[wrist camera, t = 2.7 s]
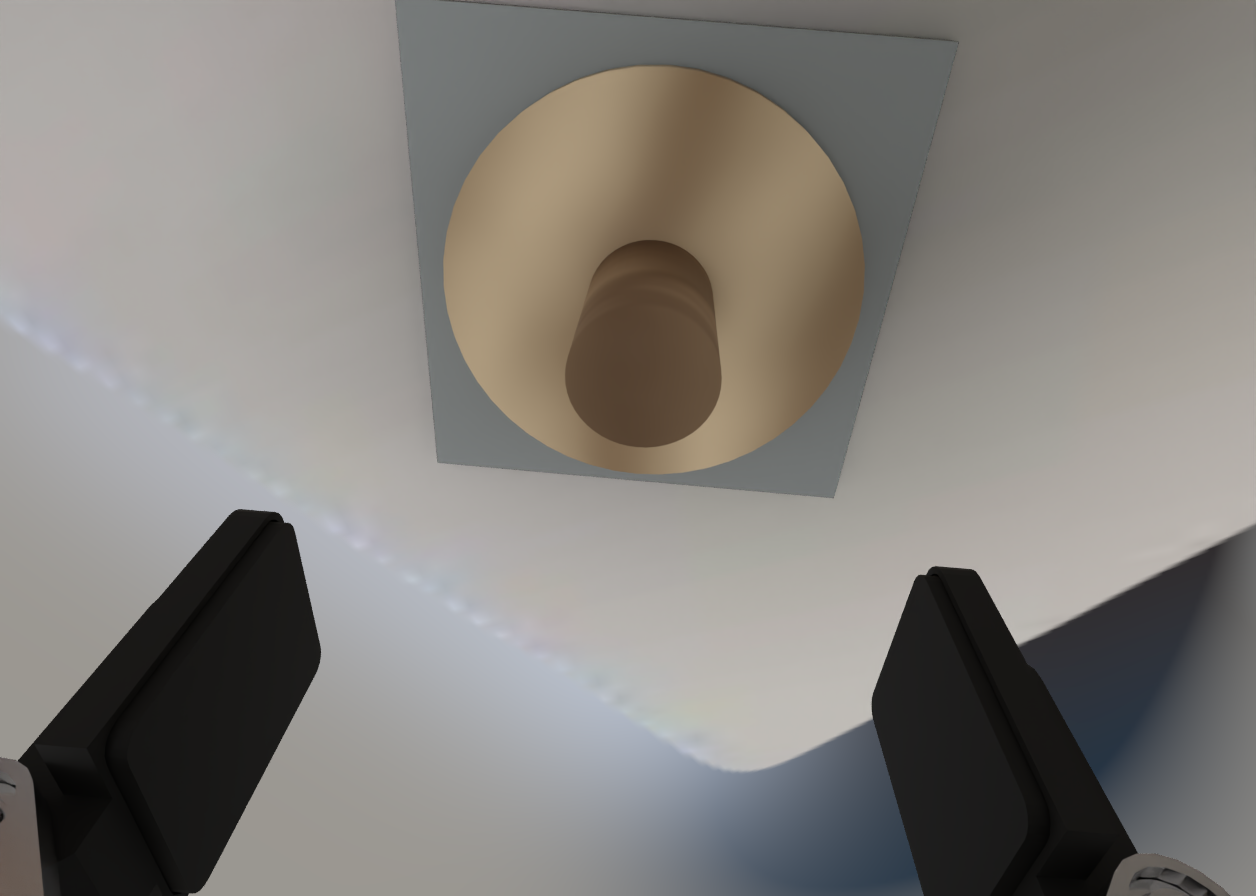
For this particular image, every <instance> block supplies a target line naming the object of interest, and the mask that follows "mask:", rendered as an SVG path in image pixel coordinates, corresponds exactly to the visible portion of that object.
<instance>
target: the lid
mask: <svg viewBox="0 0 1256 896" xmlns="http://www.w3.org/2000/svg"><path fill="white" fill-rule="evenodd" d="M443 272H444V292H445V298H446V305H447V312H448V315H449V319H450V322H451V326H452V329H453V333H454V336H455V339H456V341H457V343H458V346H459V348H460V350H461V353H462V355H463V358H464V360H465V361H466V363H467V365H468V367H469V368H470V370H471V372H472V373H473V375H474V377H475V379H476V380H477V382H478V383H479V384H480V386H481V387H482V388H483V390H484V391H485V392H486V394H487V395H488V396H489V398H490V399H491V400H492V401H493V402H494V403H495V404H496V405H497V406H498V407H499V409H500V410H501V411H502V412H503V413H504V414H505V415H506V416H507V417H508V418H509V419H511V420H512V421H513V422H514V423H515V424H517V425H518V426H519V427H520V428H521V429H523V430H524V431H525V432H526V433H528V434H529V435H531V436H532V437H534V438H535V439H537V440H538V441H540V442H542V443H543V444H545V445H546V446H548V447H550V448H552V449H554V450H556V451H558V452H560V453H562V454H564V455H566V456H568V457H571V458H573V459H576V460H579V461H581V462H584V463H587V464H590V465H593V466H597V467H601V468H605V469H609V470H613V471H620V472H627V473H635V474H672V473H684V472H689V471H695V470H700V469H705V468H709V467H712V466H716V465H719V464H722V463H725V462H729V461H731V460H734V459H736V458H738V457H741V456H743V455H745V454H748V453H750V452H752V451H754V450H756V449H757V448H759V447H761V446H762V445H764V444H766V443H768V442H769V441H771V440H773V439H774V438H776V437H777V436H778V435H780V434H781V433H782V432H784V431H785V430H786V429H788V428H789V427H790V426H792V425H793V424H794V423H795V422H796V421H797V420H798V419H799V418H800V417H801V416H803V415H804V414H805V413H806V412H807V411H808V410H809V409H810V408H811V407H812V406H813V404H814V403H815V402H816V401H817V400H818V398H819V397H820V396H821V395H822V394H823V392H824V391H825V390H826V389H827V387H828V386H829V384H830V382H831V381H832V379H833V378H834V376H835V375H836V373H837V371H838V370H839V368H840V367H841V364H842V362H843V360H844V358H845V356H846V354H847V352H848V350H849V347H850V345H851V343H852V340H853V337H854V333H855V330H856V327H857V324H858V321H859V317H860V311H861V306H862V300H863V294H864V273H865V262H864V253H863V244H862V236H861V232H860V228H859V224H858V220H857V216H856V212H855V209H854V206H853V204H852V202H851V199H850V197H849V194H848V192H847V190H846V187H845V185H844V182H843V181H842V179H841V177H840V176H839V174H838V172H837V171H836V169H835V167H834V166H833V164H832V162H831V161H830V159H829V157H828V156H827V155H826V154H825V152H824V151H823V150H822V149H821V148H820V146H819V145H818V144H817V143H816V141H815V140H814V139H813V138H812V137H811V135H810V134H809V133H808V132H807V131H806V130H805V129H804V128H803V127H802V126H801V125H800V124H799V123H798V122H797V121H796V120H795V119H794V118H792V117H791V116H790V115H789V114H788V113H787V112H786V111H785V110H784V109H783V108H781V107H780V106H778V105H777V104H775V103H774V102H772V101H771V100H769V99H768V98H766V97H765V96H763V95H762V94H760V93H759V92H757V91H756V90H753V89H751V88H749V87H747V86H745V85H743V84H741V83H739V82H737V81H734V80H732V79H730V78H727V77H724V76H721V75H718V74H714V73H711V72H708V71H704V70H701V69H695V68H689V67H682V66H675V65H634V66H627V67H620V68H614V69H608V70H604V71H601V72H598V73H595V74H591V75H588V76H585V77H581V78H579V79H577V80H574V81H572V82H570V83H568V84H566V85H564V86H562V87H560V88H558V89H555V90H553V91H552V92H550V93H549V94H547V95H546V96H544V97H543V98H541V99H540V100H538V101H537V102H535V103H534V104H532V105H531V106H529V107H528V108H526V109H525V110H524V111H522V112H521V113H520V114H519V115H518V116H517V117H516V118H514V119H513V120H512V121H511V122H510V123H509V124H508V125H507V126H506V127H504V128H503V129H502V130H501V131H500V132H499V133H498V134H497V135H496V137H495V138H494V139H493V140H492V141H491V143H490V144H489V145H488V146H487V147H486V149H485V150H484V151H483V152H482V154H481V155H480V156H479V158H478V159H477V161H476V163H475V164H474V166H473V168H472V169H471V171H470V173H469V174H468V176H467V178H466V179H465V181H464V183H463V186H462V188H461V190H460V193H459V195H458V197H457V200H456V202H455V205H454V207H453V211H452V215H451V218H450V222H449V226H448V230H447V234H446V242H445V250H444V258H443Z"/></svg>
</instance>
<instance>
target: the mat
mask: <svg viewBox="0 0 1256 896" xmlns="http://www.w3.org/2000/svg"><path fill="white" fill-rule="evenodd" d="M395 6H396V17H397V28H398V39H399V50H400V61H401V71H402V82H403V93H404V104H405V115H406V126H407V137H408V147H409V158H410V169H411V180H412V191H413V202H414V213H415V223H416V234H417V245H418V256H419V267H420V278H421V289H422V300H423V310H424V321H425V332H426V343H427V354H428V365H429V376H430V386H431V397H432V408H433V419H434V430H435V441H436V452H437V462H438V463H446V464H457V465H468V466H480V467H491V468H502V469H513V470H524V471H535V472H547V473H558V474H569V475H580V476H591V477H603V478H614V479H625V480H636V481H647V482H659V483H670V484H681V485H692V486H703V487H714V488H726V489H737V490H748V491H759V492H770V493H782V494H793V495H804V496H815V497H826V498H834V495H835V492H836V488H837V484H838V481H839V477H840V474H841V470H842V466H843V463H844V459H845V455H846V452H847V448H848V444H849V441H850V437H851V433H852V430H853V426H854V423H855V419H856V415H857V412H858V408H859V404H860V401H861V397H862V393H863V390H864V386H865V382H866V379H867V375H868V372H869V368H870V364H871V361H872V357H873V353H874V350H875V346H876V342H877V339H878V335H879V331H880V328H881V324H882V320H883V317H884V313H885V310H886V306H887V302H888V299H889V295H890V291H891V288H892V284H893V280H894V277H895V273H896V269H897V266H898V262H899V259H900V255H901V251H902V248H903V244H904V240H905V237H906V233H907V229H908V226H909V222H910V218H911V215H912V211H913V208H914V204H915V200H916V197H917V193H918V189H919V186H920V182H921V178H922V175H923V171H924V167H925V164H926V160H927V156H928V153H929V149H930V146H931V142H932V138H933V135H934V131H935V127H936V124H937V120H938V116H939V113H940V109H941V105H942V102H943V98H944V95H945V91H946V87H947V84H948V80H949V76H950V73H951V69H952V65H953V62H954V58H955V54H956V51H957V47H958V44H959V42H957V41H952V40H940V39H928V38H915V37H903V36H890V35H878V34H865V33H852V32H840V31H827V30H815V29H802V28H789V27H777V26H764V25H752V24H739V23H727V22H714V21H701V20H689V19H676V18H664V17H651V16H639V15H626V14H613V13H601V12H588V11H576V10H563V9H551V8H538V7H525V6H513V5H500V4H488V3H475V2H463V1H450V0H395ZM634 65H675V66H682V67H689V68H695V69H701V70H704V71H708V72H711V73H714V74H718V75H721V76H724V77H727V78H730V79H732V80H734V81H737V82H739V83H741V84H743V85H745V86H747V87H749V88H751V89H753V90H756V91H757V92H759V93H760V94H762V95H763V96H765V97H766V98H768V99H769V100H771V101H772V102H774V103H775V104H777V105H778V106H780V107H781V108H783V109H784V110H785V111H786V112H787V113H788V114H789V115H790V116H791V117H792V118H794V119H795V120H796V121H797V122H798V123H799V124H800V125H801V126H802V127H803V128H804V129H805V130H806V131H807V132H808V133H809V134H810V135H811V137H812V138H813V139H814V140H815V141H816V143H817V144H818V145H819V146H820V148H821V149H822V150H823V151H824V152H825V154H826V155H827V156H828V157H829V159H830V161H831V162H832V164H833V166H834V167H835V169H836V171H837V172H838V174H839V176H840V177H841V179H842V181H843V182H844V185H845V187H846V190H847V192H848V194H849V197H850V199H851V202H852V204H853V206H854V209H855V212H856V216H857V220H858V224H859V228H860V232H861V236H862V244H863V253H864V262H865V273H864V294H863V300H862V306H861V311H860V317H859V321H858V324H857V327H856V330H855V333H854V337H853V340H852V343H851V345H850V347H849V350H848V352H847V354H846V356H845V358H844V360H843V362H842V364H841V367H840V368H839V370H838V371H837V373H836V375H835V376H834V378H833V379H832V381H831V382H830V384H829V386H828V387H827V389H826V390H825V391H824V392H823V394H822V395H821V396H820V397H819V398H818V400H817V401H816V402H815V403H814V404H813V406H812V407H811V408H810V409H809V410H808V411H807V412H806V413H805V414H804V415H803V416H801V417H800V418H799V419H798V420H797V421H796V422H795V423H794V424H793V425H792V426H790V427H789V428H788V429H786V430H785V431H784V432H782V433H781V434H780V435H778V436H777V437H776V438H774V439H773V440H771V441H769V442H768V443H766V444H764V445H762V446H761V447H759V448H757V449H756V450H754V451H752V452H750V453H748V454H745V455H743V456H741V457H738V458H736V459H734V460H731V461H729V462H725V463H722V464H719V465H716V466H712V467H709V468H705V469H700V470H695V471H689V472H684V473H672V474H635V473H627V472H620V471H613V470H609V469H605V468H601V467H597V466H593V465H590V464H587V463H584V462H581V461H579V460H576V459H573V458H571V457H568V456H566V455H564V454H562V453H560V452H558V451H556V450H554V449H552V448H550V447H548V446H546V445H545V444H543V443H542V442H540V441H538V440H537V439H535V438H534V437H532V436H531V435H529V434H528V433H526V432H525V431H524V430H523V429H521V428H520V427H519V426H518V425H517V424H515V423H514V422H513V421H512V420H511V419H509V418H508V417H507V416H506V415H505V414H504V413H503V412H502V411H501V410H500V409H499V407H498V406H497V405H496V404H495V403H494V402H493V401H492V400H491V399H490V398H489V396H488V395H487V394H486V392H485V391H484V390H483V388H482V387H481V386H480V384H479V383H478V382H477V380H476V379H475V377H474V375H473V373H472V372H471V370H470V368H469V367H468V365H467V363H466V361H465V360H464V358H463V355H462V353H461V350H460V348H459V346H458V343H457V341H456V339H455V336H454V333H453V329H452V326H451V322H450V319H449V315H448V312H447V305H446V298H445V292H444V272H443V258H444V250H445V242H446V234H447V230H448V226H449V222H450V218H451V215H452V211H453V207H454V205H455V202H456V200H457V197H458V195H459V193H460V190H461V188H462V186H463V183H464V181H465V179H466V178H467V176H468V174H469V173H470V171H471V169H472V168H473V166H474V164H475V163H476V161H477V159H478V158H479V156H480V155H481V154H482V152H483V151H484V150H485V149H486V147H487V146H488V145H489V144H490V143H491V141H492V140H493V139H494V138H495V137H496V135H497V134H498V133H499V132H500V131H501V130H502V129H503V128H504V127H506V126H507V125H508V124H509V123H510V122H511V121H512V120H513V119H514V118H516V117H517V116H518V115H519V114H520V113H521V112H522V111H524V110H525V109H526V108H528V107H529V106H531V105H532V104H534V103H535V102H537V101H538V100H540V99H541V98H543V97H544V96H546V95H547V94H549V93H550V92H552V91H553V90H555V89H558V88H560V87H562V86H564V85H566V84H568V83H570V82H572V81H574V80H577V79H579V78H581V77H585V76H588V75H591V74H595V73H598V72H601V71H604V70H608V69H614V68H620V67H627V66H634Z"/></svg>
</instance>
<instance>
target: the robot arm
mask: <svg viewBox="0 0 1256 896" xmlns="http://www.w3.org/2000/svg"><path fill="white" fill-rule="evenodd" d="M320 657H321V648H320V643H319V638H318V633H317V629H316V625H315V620H314V616H313V611H312V607H311V602H310V598H309V593H308V589H307V584H306V580H305V575H304V571H303V566H302V562H301V557H300V553H299V548H298V544H297V539H296V535H295V531H294V528H293V526H292V525H291V524H290V523H284V521H283V518H282V516H281V515H280V514H279V513H276V512H267V511H254V510H243V509H239V510H235V511H234V512H232V513H231V514H230V515H229V517H227V519H226V520H225V521H224V522H223V523H222V525H221V526H220V527H219V528H218V529H217V530H216V532H215V533H214V534H213V535H212V536H211V537H210V539H209V540H208V541H207V542H206V543H205V544H204V546H203V547H202V548H201V549H200V550H199V551H198V553H197V554H196V555H195V556H194V557H193V558H192V560H191V561H190V562H189V563H188V564H187V566H186V567H185V568H184V569H183V570H182V571H181V573H180V574H179V575H178V576H177V577H176V579H175V580H174V581H173V582H172V583H171V584H170V585H169V587H168V588H167V589H166V590H165V591H164V593H163V594H162V595H161V596H160V597H159V598H158V599H157V600H156V601H155V602H154V603H153V604H152V605H151V606H150V607H149V608H148V609H147V610H146V612H145V613H144V614H143V615H142V616H141V618H140V619H139V620H138V621H137V622H136V623H135V624H134V626H133V627H132V628H131V629H130V630H129V632H128V633H127V634H126V635H125V636H124V637H123V639H122V640H121V641H120V642H119V643H118V644H117V646H116V647H115V648H114V649H113V650H112V651H111V653H110V654H109V655H108V656H107V657H106V658H105V660H104V661H103V662H102V663H101V664H100V665H99V667H98V668H97V669H96V670H95V672H94V673H93V674H92V675H91V676H90V677H89V678H88V679H87V681H86V682H85V683H84V684H83V685H82V686H81V688H80V689H79V690H78V691H77V692H76V693H75V695H74V696H73V697H72V698H71V699H70V700H69V702H68V703H67V704H66V705H65V706H64V708H63V709H62V710H61V711H60V712H59V713H58V715H57V716H56V717H55V718H54V719H53V720H52V722H51V723H50V724H49V725H48V726H47V727H46V729H45V730H44V731H43V732H42V733H41V734H40V735H39V737H38V738H37V739H36V740H35V741H34V743H33V744H32V745H31V746H30V747H29V748H28V750H27V751H26V752H25V753H24V754H23V755H22V757H21V758H20V759H19V760H18V761H16V760H13V759H7V758H1V757H0V896H188V894H189V893H196V892H198V891H200V890H201V889H202V887H203V886H204V885H205V883H206V882H207V880H208V878H209V877H210V875H211V873H212V871H213V869H214V867H215V865H216V863H217V861H218V860H219V858H220V856H221V854H222V852H223V850H224V848H225V846H226V844H227V842H228V840H229V839H230V837H231V835H232V833H233V831H234V829H235V827H236V825H237V823H238V821H239V819H240V818H241V816H242V814H243V812H244V810H245V808H246V806H247V804H248V802H249V800H250V798H251V797H252V795H253V793H254V791H255V789H256V787H257V785H258V783H259V781H260V779H261V777H262V776H263V774H264V772H265V770H266V768H267V766H268V764H269V762H270V760H271V758H272V756H273V754H274V752H275V751H276V749H277V747H278V745H279V743H280V741H281V739H282V737H283V735H284V733H285V731H286V730H287V728H288V726H289V724H290V722H291V720H292V718H293V716H294V714H295V712H296V711H297V709H298V707H299V705H300V703H301V701H302V699H303V697H304V695H305V693H306V691H307V690H308V688H309V686H310V684H311V682H312V680H313V678H314V676H315V674H316V672H317V670H318V667H319V663H320ZM872 715H873V720H874V724H875V727H876V730H877V734H878V738H879V741H880V745H881V748H882V751H883V755H884V758H885V762H886V765H887V769H888V772H889V775H890V779H891V783H892V786H893V790H894V793H895V797H896V800H897V804H898V807H899V810H900V814H901V818H902V821H903V825H904V828H905V832H906V835H907V839H908V841H909V845H910V849H911V852H912V856H913V859H914V863H915V866H916V870H917V873H918V877H919V880H920V884H921V887H922V891H923V894H924V896H1230V895H1229V894H1228V893H1227V892H1226V891H1225V890H1224V889H1223V888H1222V887H1221V886H1219V885H1218V884H1217V883H1215V882H1214V881H1212V880H1211V879H1210V878H1208V877H1207V876H1206V875H1204V874H1203V873H1201V872H1200V871H1198V870H1196V869H1194V868H1192V867H1190V866H1188V865H1186V864H1184V863H1183V862H1181V861H1179V860H1176V859H1173V858H1169V857H1165V856H1162V855H1158V854H1138V853H1137V851H1136V849H1135V847H1134V845H1133V844H1132V842H1131V840H1130V838H1129V836H1128V835H1127V833H1126V831H1125V829H1124V827H1123V826H1122V824H1121V822H1120V820H1119V818H1118V816H1117V815H1116V813H1115V811H1114V809H1113V808H1112V806H1111V804H1110V802H1109V800H1108V798H1107V796H1106V795H1105V793H1104V791H1103V789H1102V787H1101V786H1100V784H1099V782H1098V780H1097V779H1096V777H1095V775H1094V773H1093V771H1092V769H1091V767H1090V766H1089V764H1088V762H1087V760H1086V758H1085V757H1084V755H1083V753H1082V751H1081V750H1080V748H1079V746H1078V744H1077V742H1076V740H1075V739H1074V737H1073V735H1072V733H1071V731H1070V730H1069V728H1068V726H1067V724H1066V722H1065V720H1064V719H1063V717H1062V715H1061V713H1060V711H1059V710H1058V708H1057V706H1056V704H1055V702H1054V701H1053V699H1052V697H1051V695H1050V694H1049V692H1048V690H1047V688H1046V686H1045V684H1044V683H1043V681H1042V679H1041V678H1040V676H1039V675H1038V673H1037V672H1036V671H1035V669H1033V668H1032V667H1031V666H1029V665H1028V664H1027V663H1026V661H1025V659H1024V657H1023V655H1022V654H1021V652H1020V650H1019V648H1018V646H1017V644H1016V643H1015V641H1014V639H1013V637H1012V635H1011V633H1010V631H1009V630H1008V628H1007V626H1006V624H1005V622H1004V620H1003V619H1002V617H1001V615H1000V613H999V611H998V609H997V608H996V606H995V604H994V602H993V600H992V598H991V597H990V595H989V593H988V591H987V589H986V587H985V586H984V584H983V582H982V580H981V578H980V576H979V575H978V574H977V572H976V571H974V570H972V569H962V568H950V567H938V566H935V567H932V568H931V569H929V571H928V573H927V575H918V576H917V577H916V579H915V581H914V583H913V586H912V589H911V591H910V594H909V597H908V600H907V602H906V605H905V608H904V611H903V613H902V616H901V619H900V621H899V624H898V627H897V630H896V632H895V635H894V638H893V641H892V643H891V646H890V649H889V651H888V654H887V657H886V660H885V662H884V665H883V668H882V671H881V673H880V676H879V679H878V681H877V684H876V687H875V690H874V692H873V696H872Z"/></svg>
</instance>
